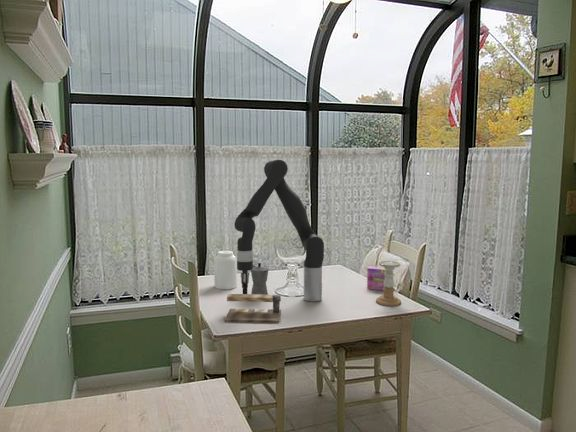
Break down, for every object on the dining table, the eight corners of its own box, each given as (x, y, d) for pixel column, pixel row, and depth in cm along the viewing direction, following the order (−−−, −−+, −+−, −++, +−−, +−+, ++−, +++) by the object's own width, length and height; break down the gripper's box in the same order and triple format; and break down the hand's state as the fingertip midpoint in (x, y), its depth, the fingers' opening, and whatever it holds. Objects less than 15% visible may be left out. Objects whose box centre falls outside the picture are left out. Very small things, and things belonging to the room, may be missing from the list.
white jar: (237, 283, 276) (237, 249, 274) (236, 289, 264) (235, 253, 261) (215, 283, 276) (215, 249, 273) (213, 290, 263) (212, 253, 261)
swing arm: (280, 298, 226) (280, 294, 226) (280, 302, 222) (280, 298, 221) (228, 298, 227) (228, 293, 227) (226, 301, 223) (226, 297, 222)
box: (366, 288, 268) (367, 267, 266) (369, 286, 273) (369, 265, 271) (385, 290, 264) (386, 269, 262) (387, 288, 269) (388, 267, 268)
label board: (280, 312, 228) (280, 299, 227) (279, 323, 213) (279, 309, 212) (230, 311, 229) (229, 298, 228) (224, 322, 214) (224, 308, 213)
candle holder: (382, 307, 236) (384, 266, 233) (371, 299, 248) (372, 261, 245) (405, 305, 239) (407, 265, 237) (393, 298, 251) (395, 259, 248)
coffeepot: (274, 298, 248) (274, 264, 246) (258, 301, 243) (257, 266, 241) (258, 291, 261) (258, 258, 259) (243, 294, 256) (243, 260, 254)
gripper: (252, 262, 221) (252, 299, 224) (253, 256, 235) (253, 291, 237) (236, 262, 221) (236, 299, 223) (237, 256, 234) (237, 291, 236)
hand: (245, 295), depth 230 cm, fingers closed
